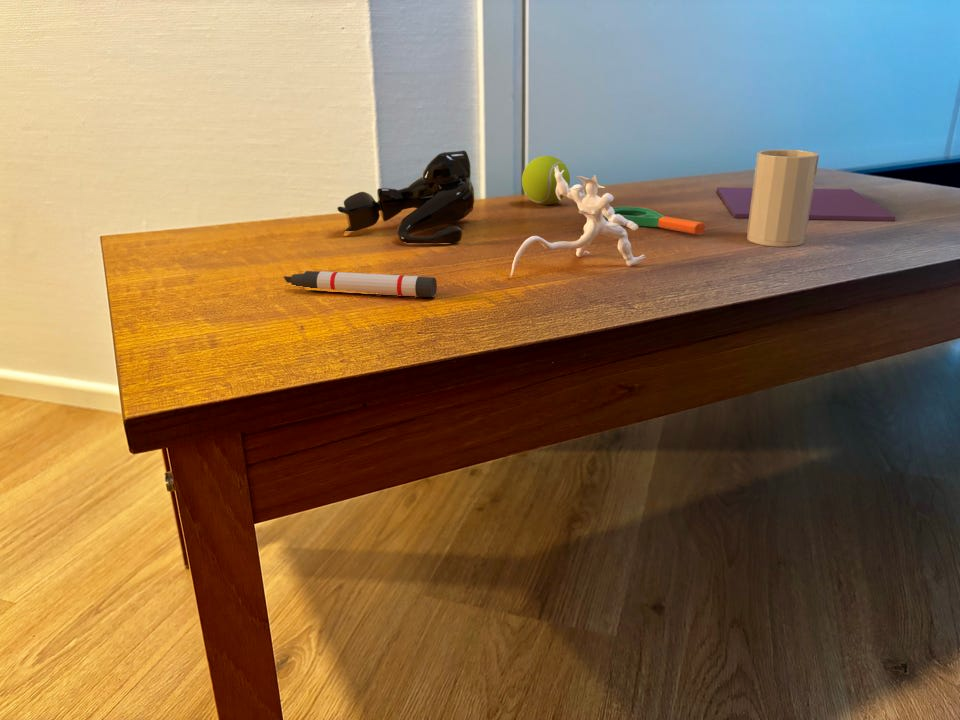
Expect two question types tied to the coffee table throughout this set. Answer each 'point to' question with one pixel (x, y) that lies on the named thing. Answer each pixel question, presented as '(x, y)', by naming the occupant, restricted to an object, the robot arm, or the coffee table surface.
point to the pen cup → (781, 197)
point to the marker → (367, 283)
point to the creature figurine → (588, 221)
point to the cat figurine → (420, 201)
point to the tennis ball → (543, 179)
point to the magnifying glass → (658, 220)
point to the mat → (815, 205)
